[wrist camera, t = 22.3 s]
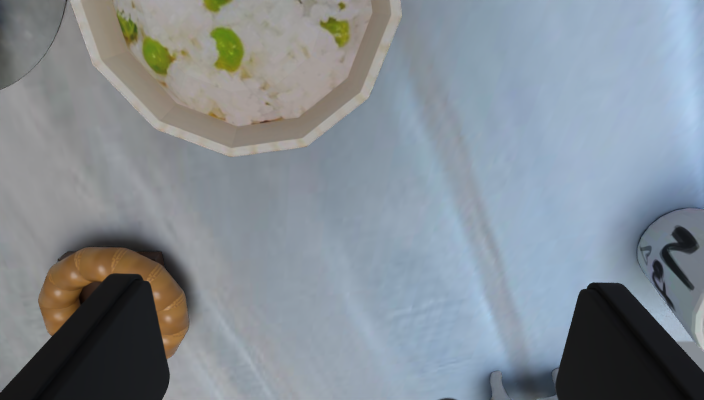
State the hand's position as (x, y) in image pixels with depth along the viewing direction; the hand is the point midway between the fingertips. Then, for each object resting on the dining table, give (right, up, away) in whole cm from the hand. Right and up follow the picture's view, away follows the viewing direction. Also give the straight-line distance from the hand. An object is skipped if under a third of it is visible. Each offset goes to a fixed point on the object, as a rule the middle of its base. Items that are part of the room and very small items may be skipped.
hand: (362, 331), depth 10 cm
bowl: (-7, +18, +24) cm, 30 cm away
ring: (-22, -7, +31) cm, 39 cm away
